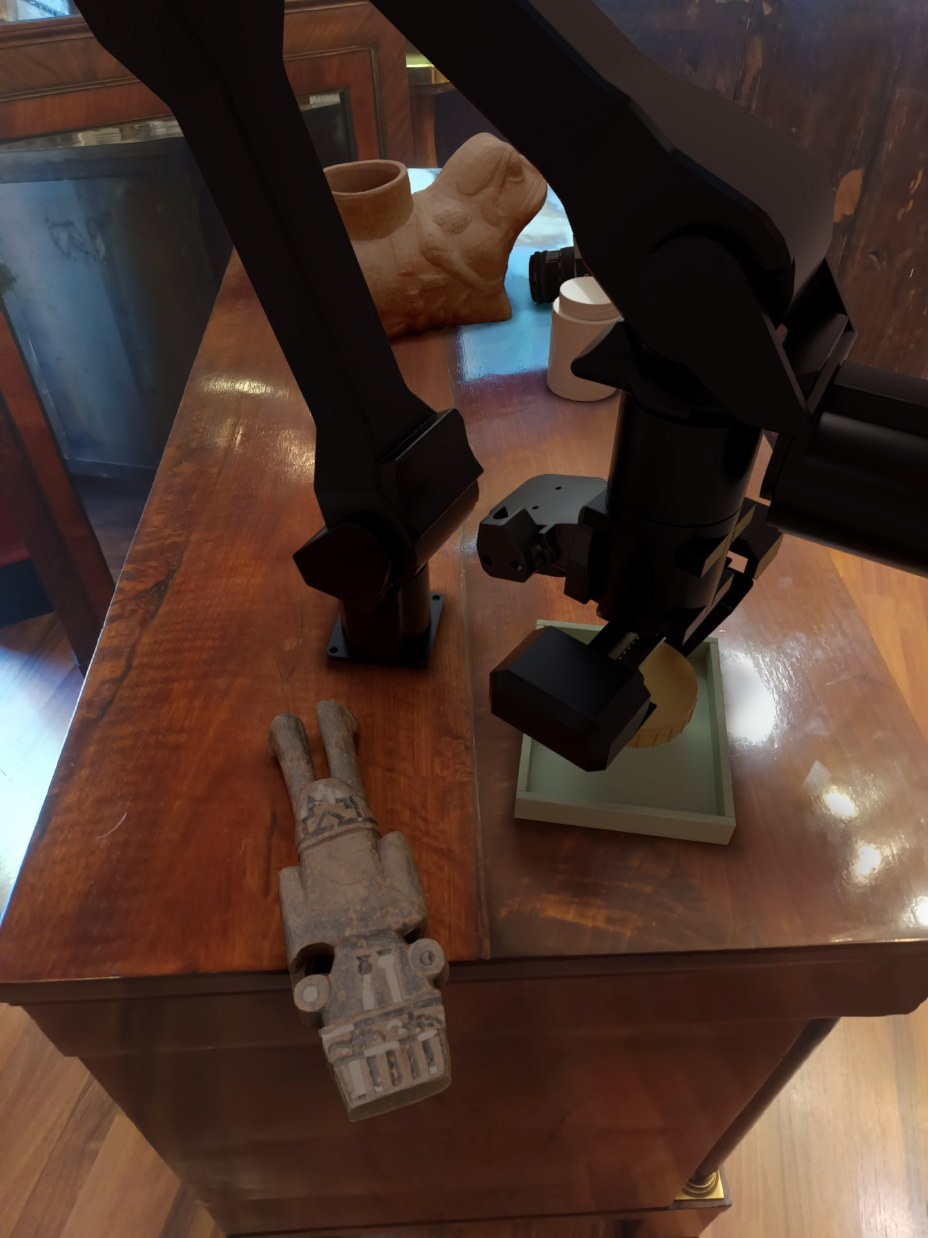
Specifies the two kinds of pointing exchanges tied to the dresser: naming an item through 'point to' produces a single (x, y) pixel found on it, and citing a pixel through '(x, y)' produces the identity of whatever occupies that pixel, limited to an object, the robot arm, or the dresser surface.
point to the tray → (642, 771)
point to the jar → (577, 336)
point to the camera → (554, 272)
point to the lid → (667, 697)
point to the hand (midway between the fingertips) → (624, 712)
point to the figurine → (358, 929)
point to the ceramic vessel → (439, 234)
